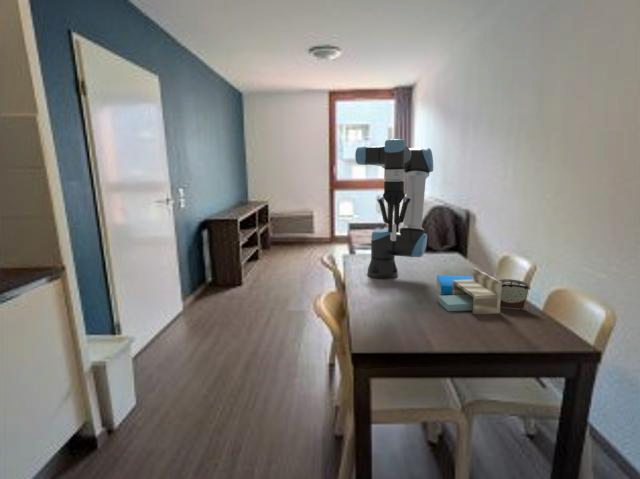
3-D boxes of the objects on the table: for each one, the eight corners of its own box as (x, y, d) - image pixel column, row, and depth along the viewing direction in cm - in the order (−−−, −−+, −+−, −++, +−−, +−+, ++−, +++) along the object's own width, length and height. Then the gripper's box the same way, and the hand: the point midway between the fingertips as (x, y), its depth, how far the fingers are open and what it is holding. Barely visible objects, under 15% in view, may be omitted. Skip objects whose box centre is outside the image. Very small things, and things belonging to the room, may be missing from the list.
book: (436, 275, 180) (493, 276, 175) (436, 284, 181) (492, 285, 176) (441, 286, 163) (503, 288, 159) (440, 296, 164) (503, 298, 160)
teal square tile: (437, 302, 155) (438, 295, 154) (466, 301, 156) (467, 294, 155) (447, 312, 145) (448, 304, 145) (478, 310, 146) (478, 303, 145)
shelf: (452, 296, 161) (453, 269, 158) (474, 295, 161) (476, 268, 159) (474, 314, 141) (476, 283, 139) (499, 313, 142) (502, 282, 140)
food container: (525, 304, 150) (527, 280, 148) (528, 310, 145) (530, 284, 143) (491, 301, 154) (493, 277, 152) (492, 306, 149) (494, 282, 147)
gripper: (380, 181, 143) (379, 243, 148) (413, 180, 145) (412, 241, 150) (374, 180, 151) (374, 239, 155) (406, 179, 152) (405, 237, 157)
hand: (393, 240), depth 153 cm, fingers closed
